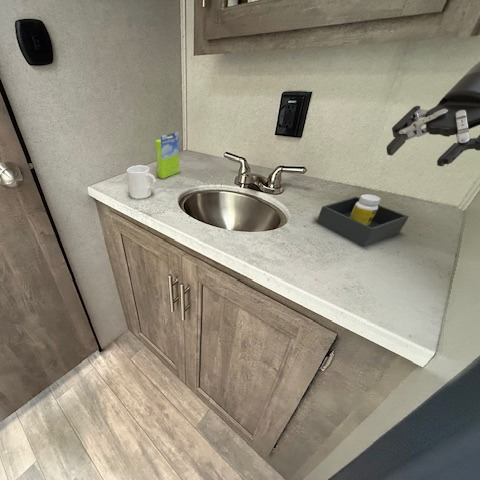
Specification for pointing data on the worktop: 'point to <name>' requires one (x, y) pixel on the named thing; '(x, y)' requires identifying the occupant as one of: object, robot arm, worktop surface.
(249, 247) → the worktop surface
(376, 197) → the supplement bottle
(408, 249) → the worktop surface
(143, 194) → the mug
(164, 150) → the box
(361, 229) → the bin
